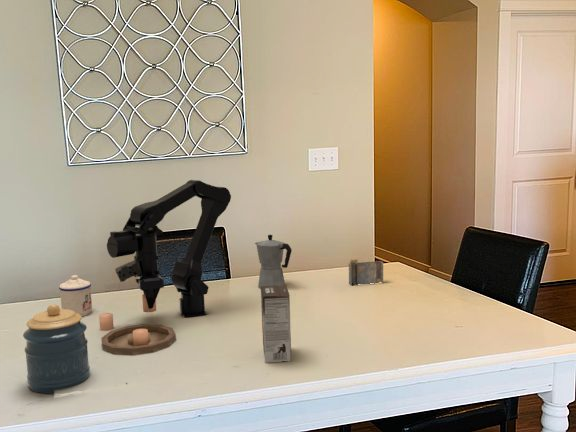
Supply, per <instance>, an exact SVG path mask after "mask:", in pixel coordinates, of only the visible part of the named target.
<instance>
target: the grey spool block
mask: <svg viewBox="0 0 576 432" xmlns="http://www.w3.org/2000/svg"><path fill="white" fill-rule="evenodd" d="M379 282H382V283H383V284H384V262H383V261H381V260H377V261H375V260H374V261H362V262H361V261H360V262H358V258H356V259H352V258H351V259H350V260H349V263H348V285H349V286H351V285H352V286H353V284H352V283H357V284H370V283H379ZM357 284H356V285H357ZM370 285H371V284H370Z"/></svg>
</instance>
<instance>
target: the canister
mask: <svg viewBox="0 0 576 432" xmlns="http://www.w3.org/2000/svg"><path fill="white" fill-rule="evenodd" d="M46 309H47V310H44V311H41V312H39V313H36V314H35V315H33V317H31V318H30V319H28V320H27V321H26V326H27V329H26V330H24V332H23V334H22V337H23V338H24V339H25V341H26V346H25V347H24V353H25V359H26V360H25V361H26V370H27V372H26V373H27V375H26V381H27V383H28V387H29V389H30V390H31V391H33V392H36V393H42V394H54V393H55V391H58V390H59V391H60V390H64V389H68V388H72V387H75V386H78V385H80V384H82V383H84V382H85V381H86V380H87V379H89V377H90V373H91V369H90V368H91V367H90V365H89V363H90V362H89V351H88V338H86V336H85V332H86V330H87V325H86V323H84V322H82V321H81V320H82V319H83V316H81V315H80V314H78V313H75V312H74V311H72V310H68V309H62V308H60V306H59V305H58V304H56V303H51V304H49V305H48V306H47V308H46Z"/></svg>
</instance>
